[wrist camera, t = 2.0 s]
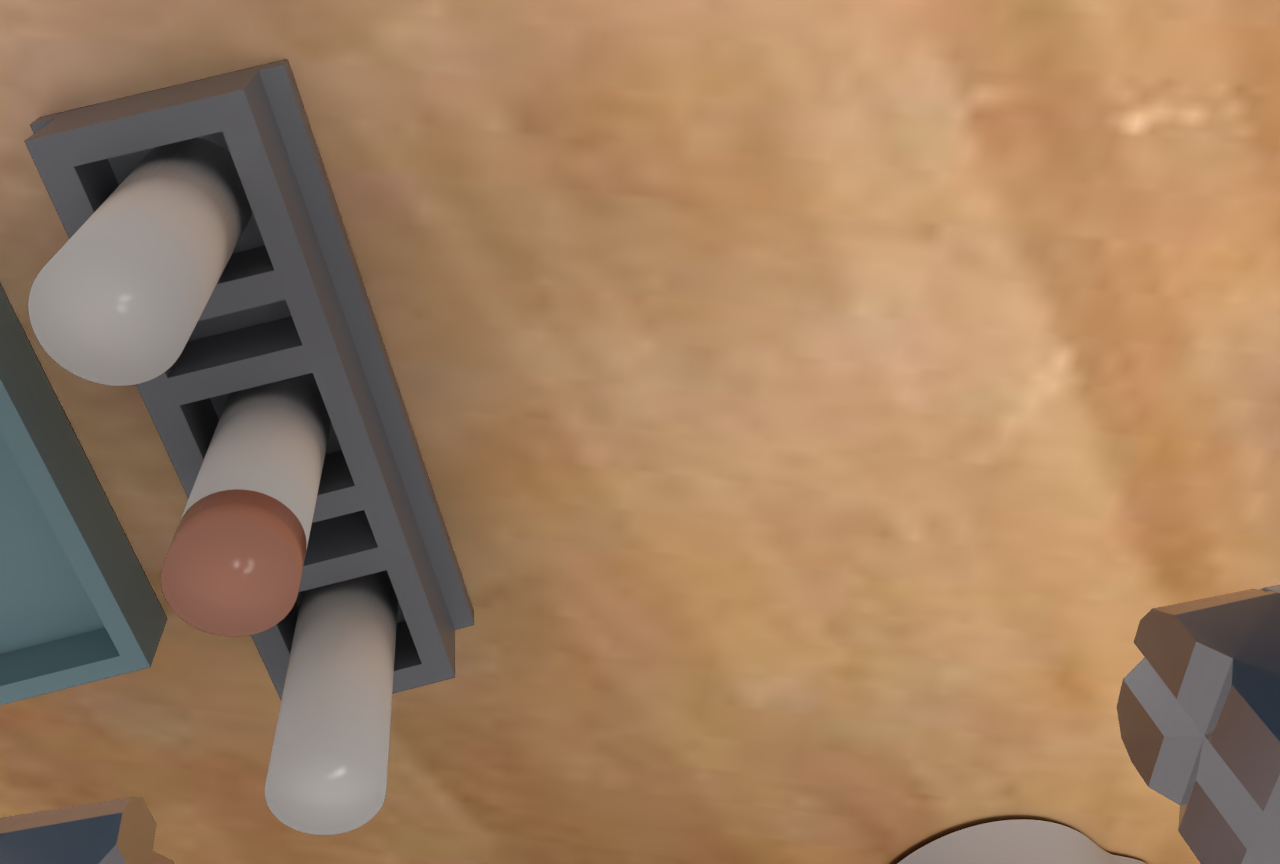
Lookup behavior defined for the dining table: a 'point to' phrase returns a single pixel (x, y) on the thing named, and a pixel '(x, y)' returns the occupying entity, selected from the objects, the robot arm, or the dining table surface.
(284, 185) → the grey slotted rack
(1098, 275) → the dining table surface
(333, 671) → the plain peg
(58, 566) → the tray
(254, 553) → the capped peg
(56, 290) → the plain peg
